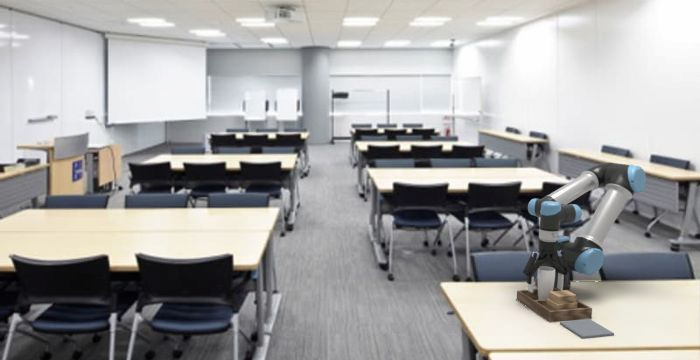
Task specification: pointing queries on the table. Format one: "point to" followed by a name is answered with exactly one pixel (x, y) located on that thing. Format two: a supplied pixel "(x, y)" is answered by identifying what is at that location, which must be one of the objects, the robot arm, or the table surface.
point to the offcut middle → (560, 305)
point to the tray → (557, 315)
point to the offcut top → (562, 297)
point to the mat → (586, 328)
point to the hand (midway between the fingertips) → (545, 290)
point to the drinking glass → (545, 281)
